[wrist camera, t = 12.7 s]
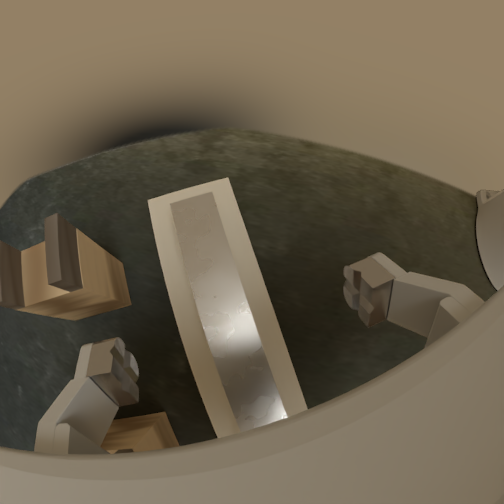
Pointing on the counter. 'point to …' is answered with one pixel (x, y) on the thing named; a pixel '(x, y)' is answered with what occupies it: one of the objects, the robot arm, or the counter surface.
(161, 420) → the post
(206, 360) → the plank
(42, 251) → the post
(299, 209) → the counter surface
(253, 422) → the rail
